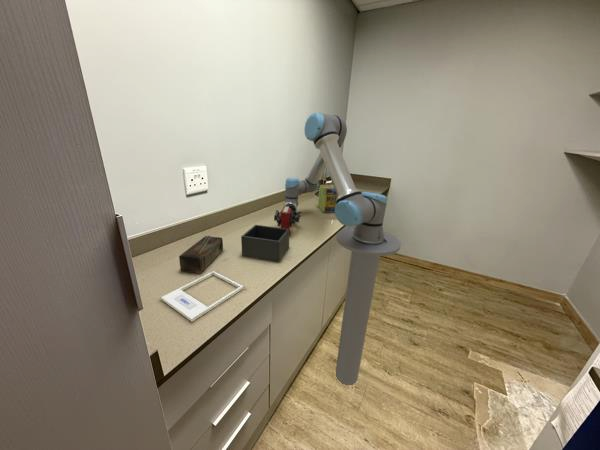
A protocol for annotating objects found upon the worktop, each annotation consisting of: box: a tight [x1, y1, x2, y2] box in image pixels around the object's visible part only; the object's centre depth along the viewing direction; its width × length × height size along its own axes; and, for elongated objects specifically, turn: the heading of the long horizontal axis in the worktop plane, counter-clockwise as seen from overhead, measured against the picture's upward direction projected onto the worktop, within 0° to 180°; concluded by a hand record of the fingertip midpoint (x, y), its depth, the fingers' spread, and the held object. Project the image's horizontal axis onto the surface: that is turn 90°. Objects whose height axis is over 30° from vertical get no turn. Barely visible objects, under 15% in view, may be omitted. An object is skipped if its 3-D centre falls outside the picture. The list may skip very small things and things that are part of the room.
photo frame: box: [160, 270, 244, 323], centre depth 73 cm, size 15×1×18 cm
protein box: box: [317, 183, 338, 214], centre depth 160 cm, size 10×15×16 cm
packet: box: [280, 206, 292, 236], centre depth 118 cm, size 4×8×13 cm, turn 176°
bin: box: [240, 224, 290, 263], centre depth 100 cm, size 16×14×9 cm
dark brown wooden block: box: [178, 235, 224, 274], centre depth 91 cm, size 8×19×7 cm, turn 173°
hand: (284, 224), depth 112 cm, fingers open, 5 cm apart
